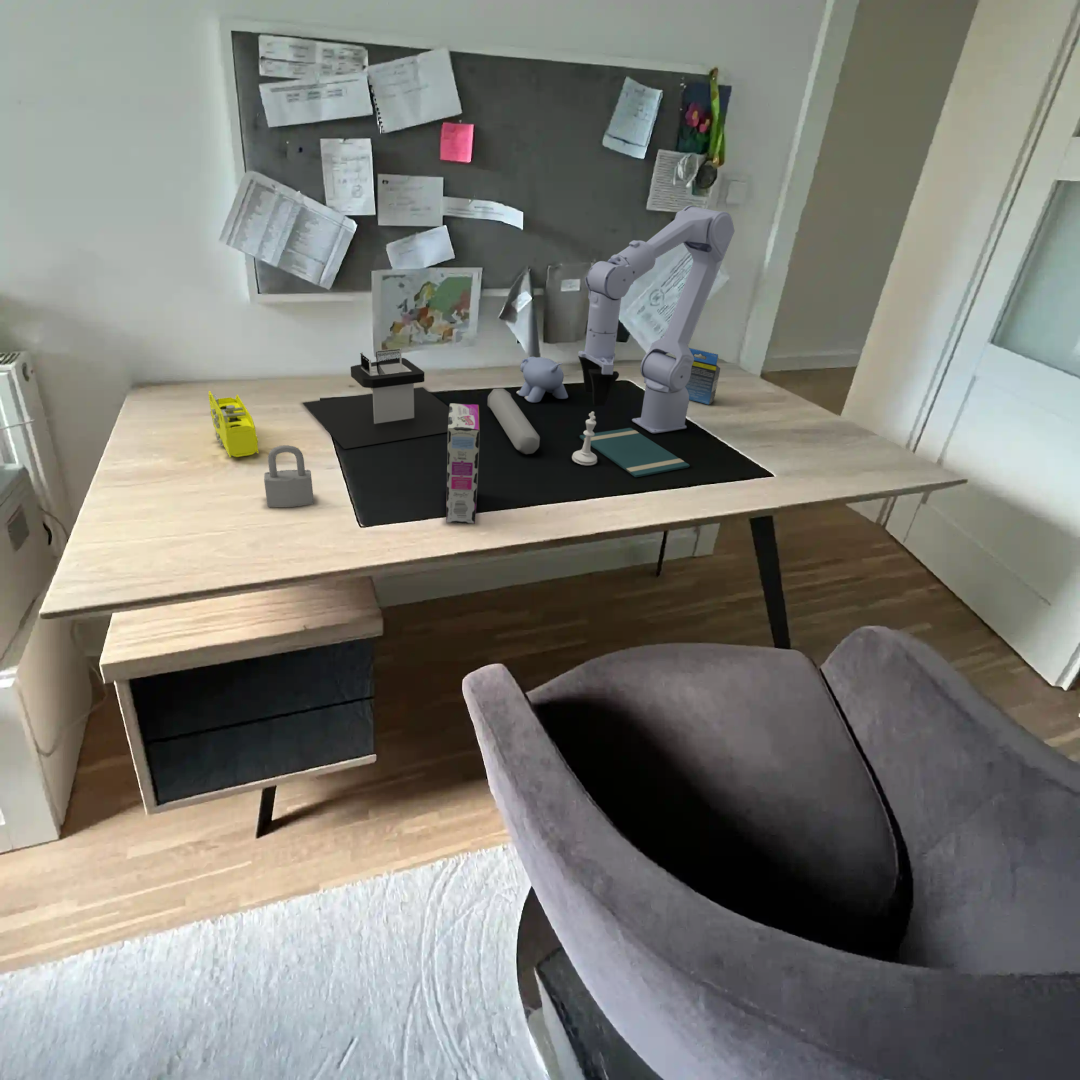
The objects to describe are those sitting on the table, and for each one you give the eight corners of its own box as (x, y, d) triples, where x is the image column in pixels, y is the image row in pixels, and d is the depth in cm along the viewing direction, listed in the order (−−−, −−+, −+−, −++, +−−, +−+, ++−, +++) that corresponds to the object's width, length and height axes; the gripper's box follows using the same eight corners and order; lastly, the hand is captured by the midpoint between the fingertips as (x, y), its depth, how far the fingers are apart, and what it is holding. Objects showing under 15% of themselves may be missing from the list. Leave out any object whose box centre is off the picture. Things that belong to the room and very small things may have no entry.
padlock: (313, 494, 121) (307, 439, 116) (314, 506, 118) (308, 449, 113) (268, 498, 119) (260, 441, 114) (267, 509, 116) (259, 452, 110)
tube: (548, 437, 139) (514, 391, 159) (523, 430, 137) (492, 385, 157) (537, 462, 141) (505, 413, 161) (513, 455, 139) (483, 407, 159)
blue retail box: (714, 401, 176) (724, 351, 170) (708, 405, 173) (719, 354, 167) (680, 392, 180) (689, 343, 174) (674, 396, 177) (683, 346, 171)
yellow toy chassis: (211, 429, 140) (204, 388, 136) (242, 425, 143) (236, 384, 139) (227, 462, 129) (220, 418, 125) (261, 457, 132) (255, 413, 127)
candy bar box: (477, 525, 116) (480, 429, 108) (445, 524, 116) (446, 428, 107) (476, 493, 126) (479, 402, 117) (447, 492, 125) (448, 401, 117)
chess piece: (579, 466, 138) (587, 418, 132) (567, 454, 142) (575, 407, 136) (601, 463, 140) (610, 416, 135) (589, 452, 144) (597, 405, 138)
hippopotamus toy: (543, 381, 180) (546, 343, 175) (575, 401, 169) (579, 361, 164) (504, 385, 175) (506, 346, 170) (535, 407, 164) (537, 365, 159)
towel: (630, 429, 156) (630, 427, 156) (689, 467, 142) (689, 464, 141) (579, 437, 150) (579, 435, 150) (635, 477, 136) (635, 475, 136)
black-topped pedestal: (422, 387, 169) (422, 330, 162) (475, 428, 151) (477, 365, 144) (302, 403, 156) (296, 341, 149) (344, 449, 137) (339, 381, 130)
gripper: (573, 319, 143) (567, 385, 150) (590, 340, 130) (582, 411, 137) (608, 320, 144) (600, 386, 151) (627, 341, 132) (618, 411, 139)
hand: (594, 398), depth 144 cm, fingers open, 7 cm apart
